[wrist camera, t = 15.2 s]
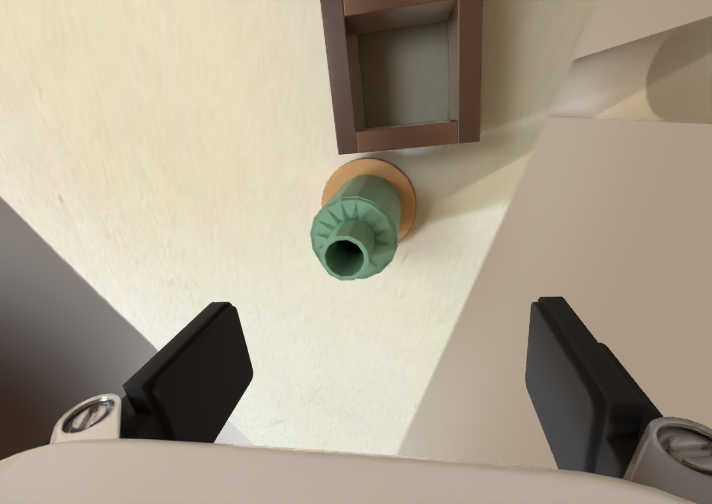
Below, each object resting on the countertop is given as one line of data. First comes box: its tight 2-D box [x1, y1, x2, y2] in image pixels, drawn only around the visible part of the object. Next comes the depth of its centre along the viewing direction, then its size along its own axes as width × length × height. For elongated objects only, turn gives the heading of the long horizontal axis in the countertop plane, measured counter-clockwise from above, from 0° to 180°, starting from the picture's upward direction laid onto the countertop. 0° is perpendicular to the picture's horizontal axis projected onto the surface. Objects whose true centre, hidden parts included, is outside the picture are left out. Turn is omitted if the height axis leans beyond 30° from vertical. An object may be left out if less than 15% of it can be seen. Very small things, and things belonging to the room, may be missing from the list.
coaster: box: [321, 158, 416, 242], centre depth 33 cm, size 9×9×1 cm
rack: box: [320, 0, 483, 155], centre depth 25 cm, size 10×19×6 cm, turn 6°
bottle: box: [310, 175, 401, 280], centre depth 27 cm, size 6×6×12 cm
